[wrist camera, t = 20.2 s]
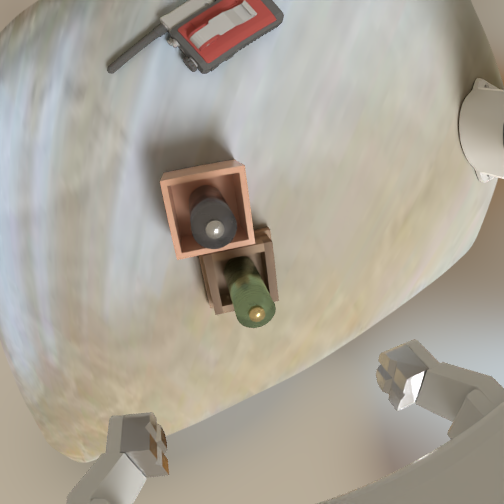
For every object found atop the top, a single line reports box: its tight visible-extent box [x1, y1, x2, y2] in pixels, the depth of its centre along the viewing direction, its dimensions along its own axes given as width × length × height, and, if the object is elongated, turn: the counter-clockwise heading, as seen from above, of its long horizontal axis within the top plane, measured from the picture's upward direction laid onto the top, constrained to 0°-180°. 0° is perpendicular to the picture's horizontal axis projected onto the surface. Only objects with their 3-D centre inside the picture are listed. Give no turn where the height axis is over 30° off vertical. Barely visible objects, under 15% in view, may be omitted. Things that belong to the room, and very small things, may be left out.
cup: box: [160, 159, 255, 260], centre depth 33 cm, size 8×8×6 cm
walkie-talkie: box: [107, 0, 284, 74], centre depth 27 cm, size 9×4×20 cm
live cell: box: [224, 256, 275, 328], centre depth 35 cm, size 4×4×10 cm
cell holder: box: [198, 227, 279, 315], centre depth 39 cm, size 9×9×4 cm
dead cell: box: [189, 185, 237, 249], centre depth 31 cm, size 4×4×10 cm
